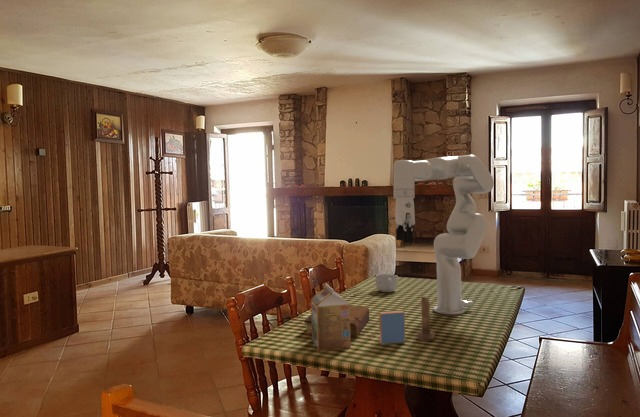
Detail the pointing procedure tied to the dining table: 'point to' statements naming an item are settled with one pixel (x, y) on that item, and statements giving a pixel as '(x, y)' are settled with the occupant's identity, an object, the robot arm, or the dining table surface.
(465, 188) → the robot arm
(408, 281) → the dining table surface
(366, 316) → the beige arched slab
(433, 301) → the dining table surface
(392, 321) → the tile
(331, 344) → the milk carton
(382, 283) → the teacup
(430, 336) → the post
